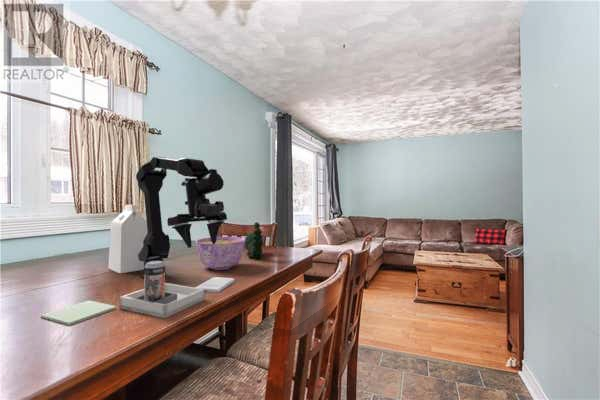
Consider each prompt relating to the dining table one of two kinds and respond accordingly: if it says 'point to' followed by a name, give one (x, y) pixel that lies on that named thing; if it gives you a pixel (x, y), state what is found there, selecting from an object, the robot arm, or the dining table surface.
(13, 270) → the dining table surface
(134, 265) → the milk
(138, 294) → the shallow light grey tray
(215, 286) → the external hard drive
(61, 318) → the sage mat
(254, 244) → the toy figurine
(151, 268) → the beer can
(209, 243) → the bowl of food
